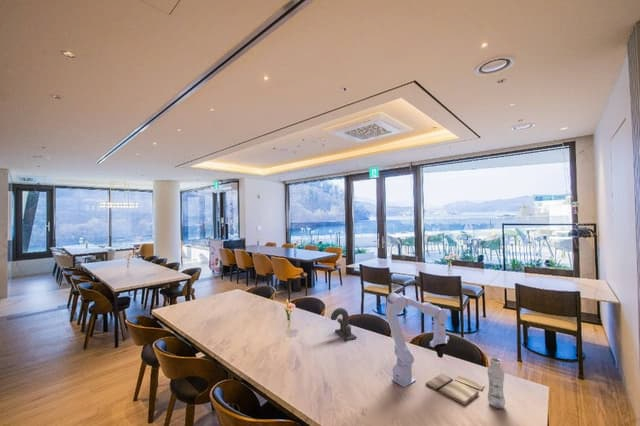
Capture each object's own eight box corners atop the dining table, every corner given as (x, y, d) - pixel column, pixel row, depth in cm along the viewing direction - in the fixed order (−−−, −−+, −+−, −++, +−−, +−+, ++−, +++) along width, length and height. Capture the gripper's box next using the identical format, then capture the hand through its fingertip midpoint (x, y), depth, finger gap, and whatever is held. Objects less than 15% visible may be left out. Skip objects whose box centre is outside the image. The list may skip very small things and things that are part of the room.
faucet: (325, 333, 198) (325, 305, 199) (344, 329, 205) (343, 302, 205) (337, 343, 182) (337, 313, 182) (357, 339, 188) (357, 310, 189)
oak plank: (464, 404, 120) (464, 401, 120) (439, 391, 130) (439, 389, 130) (478, 393, 128) (478, 390, 128) (453, 382, 138) (453, 379, 138)
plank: (481, 392, 131) (481, 389, 131) (455, 381, 139) (455, 379, 139) (484, 387, 134) (484, 385, 134) (458, 377, 143) (458, 375, 143)
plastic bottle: (498, 400, 124) (497, 356, 124) (509, 410, 117) (507, 363, 117) (484, 400, 124) (483, 356, 124) (494, 411, 117) (493, 364, 117)
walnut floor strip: (436, 391, 131) (436, 388, 131) (425, 385, 136) (425, 382, 136) (452, 381, 139) (452, 378, 139) (441, 375, 144) (441, 373, 144)
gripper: (438, 337, 137) (439, 364, 136) (454, 330, 145) (454, 355, 144) (426, 332, 142) (426, 358, 142) (442, 325, 151) (442, 350, 150)
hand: (440, 356), depth 144 cm, fingers closed
